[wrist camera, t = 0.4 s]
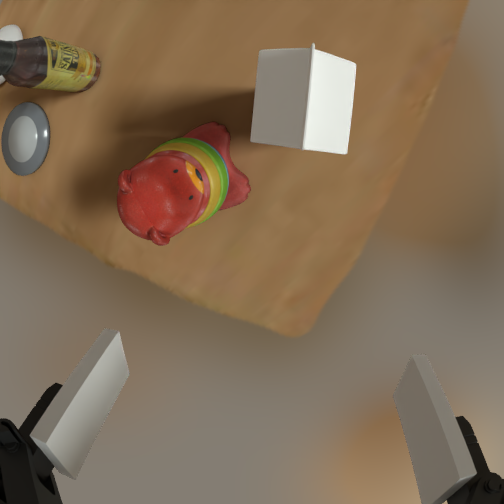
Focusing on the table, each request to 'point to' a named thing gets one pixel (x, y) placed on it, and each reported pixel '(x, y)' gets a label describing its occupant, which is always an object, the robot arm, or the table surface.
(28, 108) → the coaster
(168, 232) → the stacking bear
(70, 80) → the sauce bottle
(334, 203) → the table surface
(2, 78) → the flower in vase
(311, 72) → the milk
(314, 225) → the table surface
